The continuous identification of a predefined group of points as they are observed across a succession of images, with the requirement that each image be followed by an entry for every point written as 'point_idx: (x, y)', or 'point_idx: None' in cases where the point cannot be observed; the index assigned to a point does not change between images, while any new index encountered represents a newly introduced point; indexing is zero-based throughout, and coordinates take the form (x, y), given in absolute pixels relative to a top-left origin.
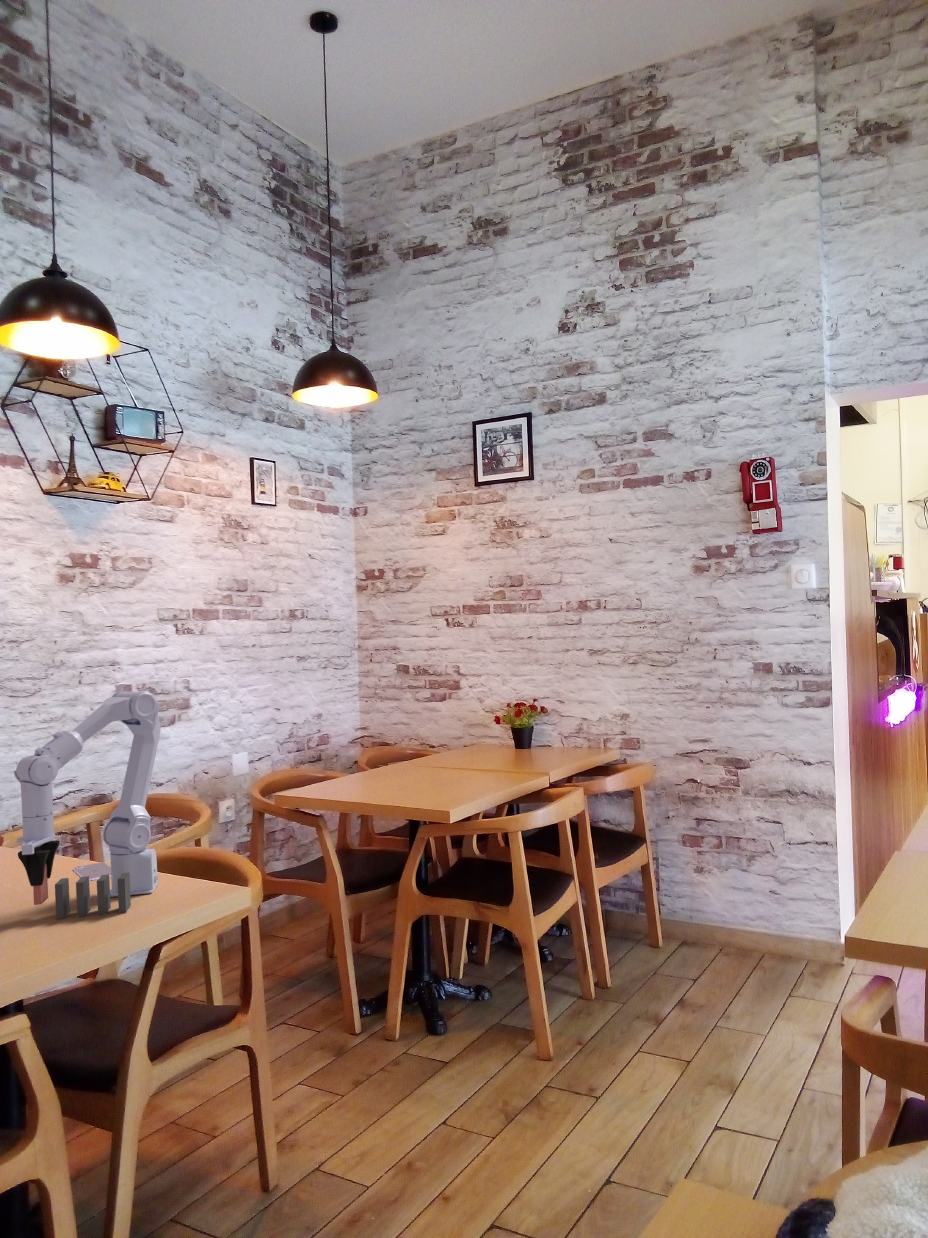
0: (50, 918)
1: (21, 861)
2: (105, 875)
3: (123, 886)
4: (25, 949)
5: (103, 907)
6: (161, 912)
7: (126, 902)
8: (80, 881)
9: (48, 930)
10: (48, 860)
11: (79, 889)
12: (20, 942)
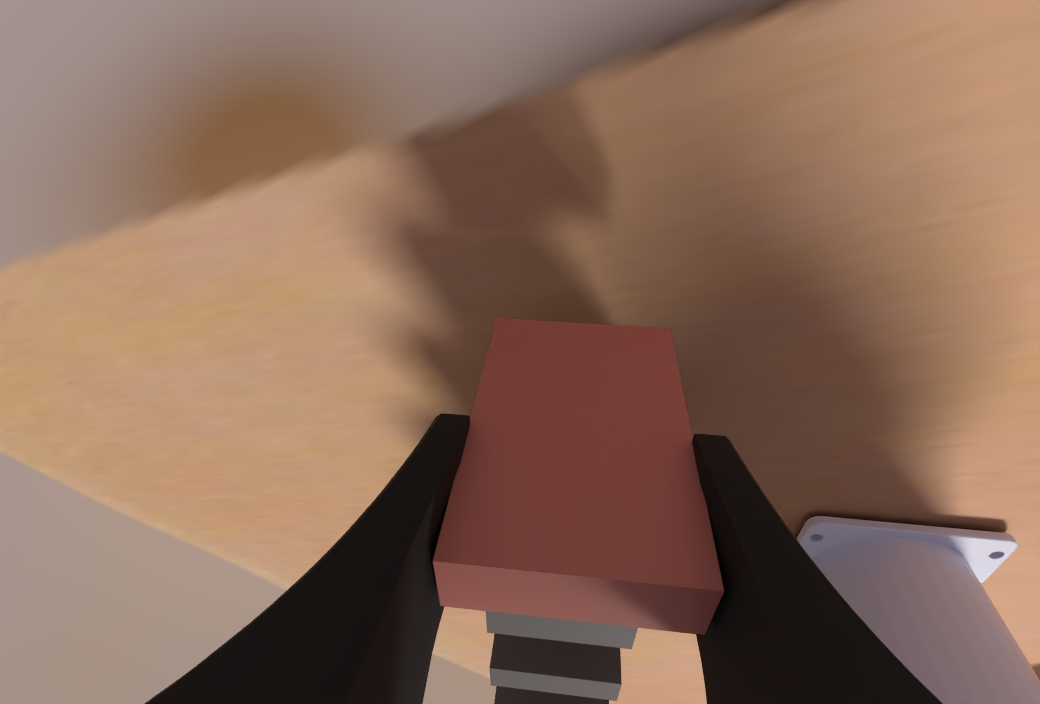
0: None
1: (201, 666)
2: (599, 692)
3: None
4: (72, 318)
5: None
6: (483, 631)
7: None
8: (510, 625)
9: (337, 358)
10: (718, 683)
11: None
12: (157, 272)
